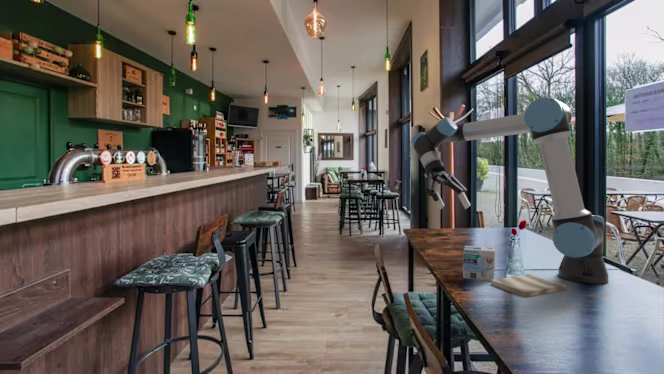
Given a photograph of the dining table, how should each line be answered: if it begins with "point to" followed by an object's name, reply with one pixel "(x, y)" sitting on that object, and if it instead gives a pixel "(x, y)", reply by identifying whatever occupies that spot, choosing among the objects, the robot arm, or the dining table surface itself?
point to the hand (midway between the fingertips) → (455, 207)
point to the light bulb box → (478, 263)
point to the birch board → (528, 285)
